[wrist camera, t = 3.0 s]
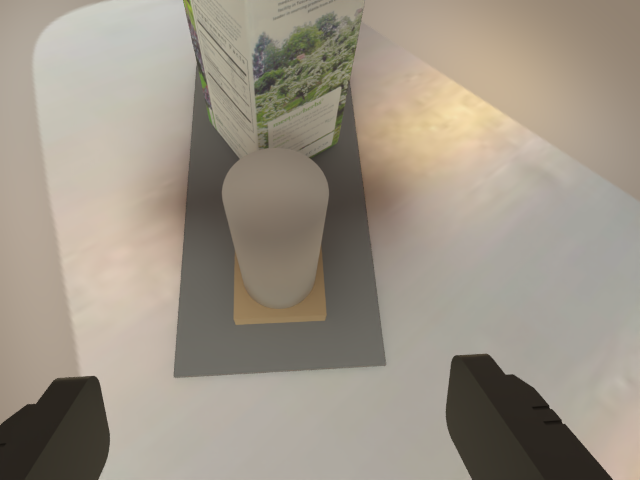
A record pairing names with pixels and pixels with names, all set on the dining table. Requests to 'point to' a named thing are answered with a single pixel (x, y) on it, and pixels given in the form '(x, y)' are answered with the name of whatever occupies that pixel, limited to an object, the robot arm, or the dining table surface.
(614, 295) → the dining table surface
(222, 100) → the syrup box
